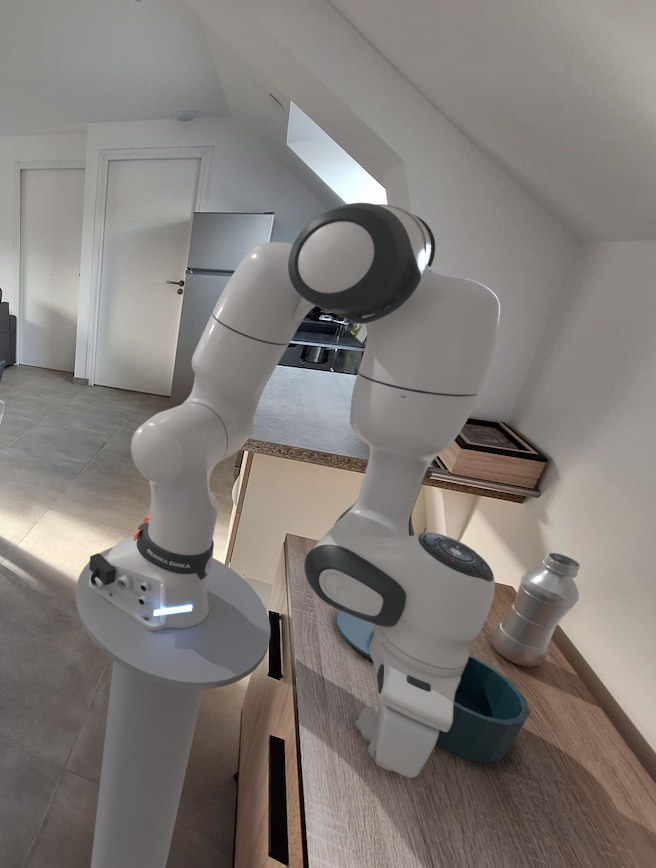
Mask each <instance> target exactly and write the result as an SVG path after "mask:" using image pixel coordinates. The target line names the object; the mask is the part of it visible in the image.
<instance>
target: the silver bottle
mask: <svg viewBox="0 0 656 868" xmlns="http://www.w3.org/2000/svg"><path fill="white" fill-rule="evenodd" d="M541 565H542V566H539V567H535V568H533V569H532V568H531V569H530V570H528V571H526V572H525V573H524V574H522V576H521V578H520V581H519V585H518V588H517V593H516V596H515V599H514V601H513V604H512V606H511V607H510V610H509V611H508V613H507V615H506V616H505V617H504V619H503V620H502V622H500V623H499V624H498V625H497V626H496V628H495V629H494V630H493V632H492V637H491V643H492V645H493V648H494V649H495V651H497V653H498V654H499V655H501V656H502V657H503V658H505V659H506V660H508V661H509V662H511V663H514V664H516V665H519V666H522V667H526V668H531V667H537V666H539V665H540V664H542V663H543V662H544V660H545V659H546V658H547V654H548V651H549V644H550V642H551V639H552V637H553V634H554V632H555V630H556V628H557V626H558V625H559V624H560V622H561V621H562V619H563V618H564V617H565V616H566V615H567V614H568V613H569V611H571V609H572V608H573V607H574V606H575V605H576V603H577V602H578V601H579V595H580V593H579V590H578V586H577V584H576V583H575V581H574V579H575V578H576V577H577V576H578V572H579V570H580V568H581V564H580V563H579V562H578V561H577V560H575V559H573V558H572V557H569V556H567V555H565V554H562V553H558V552H548V553H547V554H546V556H545V557H544V559H543V560H542V562H541Z"/></svg>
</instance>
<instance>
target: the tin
mask: <svg viewBox="0 0 656 868" xmlns="http://www.w3.org/2000/svg"><path fill="white" fill-rule="evenodd" d="M530 714H531V711H530V708H529V705H528V701H527V699H526V697H525V696H524V695H523V694H522V693H521V691H520V690H519V689H518V688H517V685H515V684H514V683H513V681H511V680H510V679H509V678H507V677H506V676H505V675H504V674H502V672H500V671H499V670H498V669H496V668H495V667H494V666H491V665H490V664H488V663H487V662H484V661H483V660H481V659H480V658H478V657H477V656H475V655H473V654H470V653H469V658H468V662H467V664H466V666H465V668H464V670H463V673H462V675H461V681H460V683H459V686H458V688H457V690H456V692H455V703H454V715H453V723H452V725H451V728H450V730H449V731H448V732H443V731H441V730H439V735H438V739H437V742H436V744H437V745H438V746H440V747H442V748H444V749H445V750H446V751H449V752H451V753H453V754H454V755H457V756H459V757H461V758H464V759H467V760H470V761H474V762H477V763H488V764H489V763H496V762H499V761H501V760H503V759H504V758H505V756H506V755H507V754H508V751H509V750H510V748H511V747H512V744H513V743H514V741H515V740H516V738H517V736H518V734H519V733H520V731H521V730H522V728H523V726H524V724H525V723H526V721H527V719H528V717H529V716H530Z"/></svg>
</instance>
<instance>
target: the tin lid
mask: <svg viewBox="0 0 656 868" xmlns="http://www.w3.org/2000/svg"><path fill="white" fill-rule="evenodd" d="M335 625H336V627H337V628H336V629H337V630H338V632H339V634H340V635H341V636H342V638H343V639H344V640H345V641H346V642H347V643H348V644H349V645H350V646H351V647H352V648H353V649H355V650H356V651H358V652H359V653H360V654H362V655H364V656H365V657H367V658H368V659H370V660H372V658H371V656H370V652H369V647H370V643H371V641H372V638H373V635H374V632H375V629H376V626H377V625H376V624H373V623H370V622H367V621H365V620H362V619H359V618H357V617H355V616H352V615H350V614H347V613H345V612H343V611H340V610H338V611H337V613H336V617H335Z"/></svg>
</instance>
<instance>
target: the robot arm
mask: <svg viewBox="0 0 656 868" xmlns="http://www.w3.org/2000/svg"><path fill="white" fill-rule="evenodd" d="M435 253H436V239H435V237H434V233H433V231H432V229H431V227H430V226H429V225H428V223H427V222H425V221H424V220H423V219H422V218H420V217H419V216H417V215H415V214H413V213H412V212H410V211H408V210H406V209H404V208H403V207H402V208H401V207H399V206H395V205H392V204H384V203H383V204H380V203H376V204H375V203H370V202H352V203H347V204H342V205H339V206H337V207H333V208H331V209H329V210H327V211H325V212H323V213H321V214H319V215H318V216H317V217H315V218H314V219H313V220H311V221H310V222H309V223H308V224H307V225H305V227H304V228H303V229H302V230H301V231H300V233H299V234H298V235H297V237H296V238H295V241H294V242H293V243H289V242H283V241H269V242H265V243H264V242H263V243H261V244H258V245H256V246H254V247H253V248H251V249H250V250H249V251H248V252H247V253H246V254H245V256H244V257H243V259H242V260H241V261H240V263H239V264H238V266H237V267H236V269H235V271H234V272H233V273H232V275H231V277H230V278H229V280H228V281H227V283H226V285H225V286H224V288H223V290H222V292H221V293H220V296H219V298H218V300H217V301H216V304H215V306H214V308H213V310H212V312H211V315H210V316H209V318H208V321H207V323H206V326H205V328H204V330H203V332H202V334H201V336H200V339H199V341H198V344H197V346H196V347H195V350H194V352H193V355H192V357H191V368H192V371H193V373H194V380H193V386H192V389H191V391H190V392H191V393H190V394H189V396H188V397H187V398H186V400H184V401H183V403H181V404H180V405H177V406H173V407H172V408H171V407H170V408H168V409H165V410H162V411H160V412H157V413H156V414H154V415H153V416H151V417H150V418H149V419H147V420H146V421H145V422H143V424H141V425H140V426H139V427H137V429H136V430H135V431H134V433H133V435H132V436H131V441H130V454H131V458H132V460H133V464H134V465H135V468H136V469H137V470H138V472H139V473H140V474H141V475H142V476H143V477H144V478H146V479H147V480H148V481H149V487H150V494H151V495H150V496H151V497H150V507H149V508H150V509H149V514H147V515H146V517H145V518H143V523H141V524H140V525H139V526H138V528H137V531H136V532H135V533H134V535H133V536H130V537H129V536H128V537H126V538H124V539H121V540H119V542H117V543H116V544H115V545H114V546H112V547H113V548H112V547H111V548H112V550H111V551H110V552H109V554H108V555H107V556H106V557H103V556H102V555H101V554H100V553H101V552H98V553H95V554H93V555H90V556H89V561H90V565H89V569H90V570H91V571H92V573H91V575H90V580H89V587H90V588H91V589H92V590H93V591H94V592H96V593H97V594H98V595H100V596H101V597H103V598H104V599H105V600H107V601H108V602H110V603H111V604H112V605H114V606H115V607H116V608H118V609H119V610H121V611H122V612H123V613H125V614H126V615H127V616H129V617H130V618H132V619H133V620H134V621H136V622H137V623H139V624H140V625H141V626H143V627H144V628H145V629H147V630H149V631H159V630H162V629H165V628H188V627H193V626H195V625H198V624H199V623H201V622H202V621H203V620H204V619H205V618H206V617H207V615H208V612H209V603H208V597H207V574H208V573H209V571H210V567H211V563H212V558H214V546H215V542H214V539H213V538H214V533H215V528H216V522H217V517H218V511H219V502H218V499H217V498H216V495H214V493H212V491H211V485H210V479H211V474H212V472H213V470H214V469H215V468H216V465H217V464H219V463H221V462H223V461H224V460H226V459H228V458H230V457H232V456H233V455H235V454H236V453H237V452H239V450H241V449H242V448H243V446H245V444H246V443H247V441H248V440H249V439H250V437H251V436H252V434H253V430H254V428H255V427H254V426H255V425H254V424H255V423H254V418H255V415H256V412H257V408H258V406H259V402H260V399H261V397H262V394H263V392H264V390H265V388H266V386H267V384H268V382H269V380H270V379H271V377H272V375H273V373H274V371H275V370H276V368H277V366H278V364H279V362H281V361H280V360H281V359H282V357H283V355H284V354H285V352H286V350H287V348H288V346H289V345H290V343H291V341H292V339H293V338H294V336H295V334H296V332H297V330H298V329H299V327H300V325H301V324H302V323H303V320H304V319H305V317H307V315H308V314H309V312H311V310H313V309H314V308H315V307H318V308H319V309H322V310H324V311H327V312H330V313H332V314H334V315H337V316H339V317H341V318H343V319H345V320H347V321H350V322H351V323H354V324H357V325H365V328H366V342H365V346H364V351H363V355H362V358H361V360H360V364H359V367H358V371H357V374H356V377H355V381H354V385H353V389H352V394H351V400H350V401H351V402H350V413H349V414H350V415H349V425H350V426H351V428H352V430H353V432H354V433H355V434H356V435H357V437H358V438H359V439H360V440H361V441H362V442H363V443H365V444H366V445H367V446H368V448H369V456H368V462H367V464H366V468H365V472H364V476H363V479H362V483H361V486H360V490H359V493H358V497H357V499H356V501H355V502H354V504H352V505H351V506H350V507H349V508H347V509H346V510H345V511H344V512H342V514H341V515H340V516H339V517H338V518H337V520H336V521H335V522H334V524H333V526H332V527H330V529H329V530H328V531H327V532H326V533H325V534H324V535H323V536H322V538H320V540H319V541H318V542H317V543H316V544H315V545H314V546H313V547H312V548H311V550H310V551H309V552H308V553H307V554H306V557H305V559H304V562H303V563H304V565H303V568H304V575H305V578H306V580H307V583H308V584H309V586H310V588H311V589H312V590H313V592H314V593H315V594H316V595H317V596H318V597H319V599H321V600H322V601H323V602H325V604H327V605H329V606H331V607H332V608H334V609H336V610H338V611H343V612H345V613H347V614H350V615H352V616H355V617H357V618H359V619H362V620H365V621H367V622H370V623H373V624H376V625H377V626H376V629H375V632H374V635H373V638H372V641H371V643H370V647H369V652H370V656H371V658H372V659H371V660H372V662H373V667H374V670H375V674H376V680H377V692H378V694H377V707H378V721H377V749H376V759H375V760H374V762H375V764H376V765H377V766H378V767H380V768H382V769H383V770H386V771H388V772H392V771H393V772H395V773H397V774H399V775H401V776H404V777H406V778H410V779H413V778H416V777H417V776H419V774H420V773H421V771H422V769H423V768H424V766H425V764H426V763H427V761H428V760H429V758H430V756H431V754H432V753H433V750H434V749H435V746H436V744H437V743H436V742H437V739H438V735H439V730H441V731H443V732H448V731H449V730H450V728H451V725H452V723H453V715H454V703H455V692H456V690H457V688H458V686H459V683H460V681H461V675H462V673H463V670H464V668H465V666H466V664H467V662H468V658H469V654H470V646H471V644H472V642H474V641H475V640H476V639H477V638H479V636H480V635H481V633H482V630H483V628H484V626H485V624H486V622H487V618H488V616H489V613H490V610H491V608H492V604H493V600H494V597H495V592H496V591H495V589H496V580H495V576H494V572H493V570H492V568H491V566H490V565H489V564H488V562H487V561H486V560H485V559H484V558H483V557H482V556H481V555H479V553H477V552H476V551H475V550H474V549H472V548H471V547H470V546H468V545H466V544H465V543H463V542H461V541H458V540H456V539H455V538H452V537H450V536H448V535H447V536H446V535H444V534H440V533H436V532H426V531H425V532H420V533H418V534H415V531H414V526H413V520H412V517H413V512H414V508H415V505H416V502H417V499H418V497H419V494H420V491H421V488H422V485H423V482H424V480H425V477H426V474H427V471H428V469H429V467H430V466H431V465H432V462H433V461H434V460H435V459H436V458H437V457H438V456H440V455H441V454H443V453H444V452H446V451H448V449H449V448H450V447H451V445H452V444H453V443H454V441H455V440H456V439H457V437H458V436H459V434H460V433H461V431H462V430H463V428H464V427H465V425H466V423H467V421H468V420H469V418H470V416H471V414H472V412H473V409H474V408H475V406H476V404H477V401H478V398H479V396H480V395H481V393H482V392H481V391H482V389H483V387H484V383H485V380H486V377H487V376H488V375H487V374H488V371H489V368H490V365H491V362H492V357H493V353H494V349H495V345H496V339H497V334H498V330H499V329H498V327H499V323H500V322H499V321H500V313H501V304H500V301H499V300H500V299H498V296H497V295H496V294H495V293H494V291H493V290H492V289H490V288H489V287H487V286H486V285H484V284H482V283H480V282H477V281H475V280H473V279H469V278H465V277H460V276H452V275H444V274H443V275H442V274H439V273H436V272H434V271H433V270H432V269H431V267H432V265H433V262H434V259H435ZM146 620H147V621H146Z"/></svg>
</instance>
